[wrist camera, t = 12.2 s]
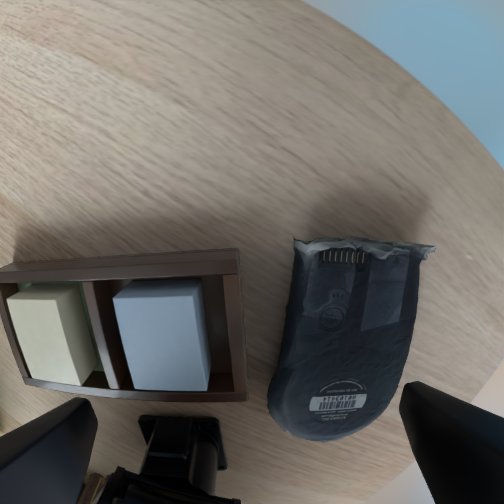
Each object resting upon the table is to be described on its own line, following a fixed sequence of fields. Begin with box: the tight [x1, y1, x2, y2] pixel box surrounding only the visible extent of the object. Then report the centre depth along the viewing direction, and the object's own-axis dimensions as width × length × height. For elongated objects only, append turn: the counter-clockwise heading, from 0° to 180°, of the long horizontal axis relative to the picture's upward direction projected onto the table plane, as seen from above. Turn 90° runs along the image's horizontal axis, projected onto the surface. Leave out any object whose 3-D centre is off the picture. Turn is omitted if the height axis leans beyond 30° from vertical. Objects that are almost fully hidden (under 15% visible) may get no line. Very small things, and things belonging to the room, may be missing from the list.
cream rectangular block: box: [7, 284, 98, 386], centre depth 17 cm, size 6×4×3 cm
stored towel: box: [113, 278, 211, 391], centre depth 18 cm, size 6×4×3 cm
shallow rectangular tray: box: [0, 248, 248, 402], centre depth 18 cm, size 9×17×3 cm, turn 93°
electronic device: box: [267, 236, 436, 442], centre depth 19 cm, size 9×6×15 cm
